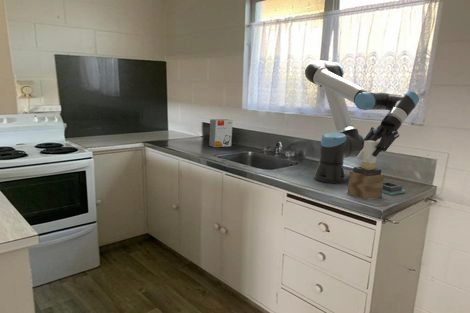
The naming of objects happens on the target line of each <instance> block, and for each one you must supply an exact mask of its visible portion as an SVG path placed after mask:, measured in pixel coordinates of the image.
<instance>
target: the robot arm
mask: <svg viewBox="0 0 470 313" xmlns="http://www.w3.org/2000/svg"><path fill="white" fill-rule="evenodd" d="M344 75H345V74H344V68H343V67H342V65H341V64H340V63H338V62H336V61H333V60H331V61H330V60H329V61H328V60H320V59H314V60H312V61H310V62H309V63H308V64H307V65H306V67H305V68H304V76H305V78H306V79H307V81H309V82H310V83H312V84H314V85H316V86H319V87H320V89H321V90H322V91H323V92H324V93H325V96H326V100H327V104H328V106H329V109H330V110H329V111H330V113H331V116H332V119H333V122H334V127H335V130H336V132H328V133H324V134H323V135H322V137H321V141H320V149H319V150H320V151H319V160H318V161H319V163H318V164H317V167H316V170H315V172H314V177H313V178H314V179H315V180H316V181H318V182H319V181H320V182H322V183H327V184H342V183H346V173H345V168H344V159H346V158H355V157H356V158H357V160H358V161H359V162H362V156H363V148H364V141H368V140H371V141H377V142H378V145H377V146H376V147H377V149H376V148H375V147H374V149H373V150H372V151H371V152H370V154H369V155H368V156H367V158H366V160H367V162H368V163H370V162H371V161H372V159H373V158H374V157H376V156H378V155H379V154H380V153H381V152H386V151H387V150H388V149H389V147H390V146H392V144H393V143H394V142H395V140H396V139H398V138H399V137H400V133H399V132H398V130H399V129H400V127H401V126H402V125H403V123H404V122H405V121H406V119H407V118H408V117H409V116H410V114H411V113H412V112H413V110H414V109H415V108H416V107H417V105H418V103H419V102H420V96H419V95H418V94H417V93H416V92H414V90H406V91H404V92H403V93H402V94H393V93H386V92H381V91H380V92H371V91H369V90H367V89H365V88H363V87H362V86H359V85H357V84H355V83H353V82H352V81H349V80H347V79H344V78H343V77H344ZM346 100H347V101H350V102H351V103H354V105H355V107H356V108H357V109H358V110H363V111H369V110H370V111H375V110H377V111H378V110H382V111H383V110H384V111H388V113H387V114H386V115H385V117H383V119H382V120H381V121H380V125H378V126H377V127H373V126H372V127H370V130H369V131H368V133H367V135H366V136H365V137H364V136H363V135H362V134H360V133H359V131H358V128H357V127H355V126H354V123H353V121H352V118H351V115H350V113H349V109H348V106H347V105H348V104H347V102H346ZM378 140H379V141H378ZM376 158H377V157H376Z"/></svg>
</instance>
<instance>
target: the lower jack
mask: <svg viewBox="0 0 470 313" xmlns="http://www.w3.org/2000/svg"><path fill="white" fill-rule="evenodd" d="M383 193H384V194H386V195H389V196H393V195H400V194H405V193H406V190H405V189H403V185H401V184H397V183H395V182H394V183H393V182H391V181H386V180H385V181H384V182H383V189H382V194H383Z"/></svg>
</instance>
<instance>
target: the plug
mask: <svg viewBox="0 0 470 313" xmlns="http://www.w3.org/2000/svg"><path fill="white" fill-rule="evenodd" d="M378 143H379V141H378V140H377V141H371V140H368V141H364V148H363V156H362V160H361V165H360V166H361V168H363V169H366V170H374V169H375V168H376V163H377V156H378V155H377V156H376V157H374V158H373V159H372V161H371V162H370V163H368V162H367V160H366V158H367V156H368V155H369V154H370V152H371V151H372V150H373V149H374V147H375V148H376V149H377V147H376V146H377V145H378Z"/></svg>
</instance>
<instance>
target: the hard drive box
mask: <svg viewBox="0 0 470 313" xmlns="http://www.w3.org/2000/svg"><path fill="white" fill-rule="evenodd" d="M233 121H234V120H232V119H228V118H226V119H224V118H223V119H221V118H220V119H219V118H218V119H210V120H209V139H208V140H209V143H208V144H209V146H210V147H212V148H221V147H222V148H223V147H232V137H233Z"/></svg>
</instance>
